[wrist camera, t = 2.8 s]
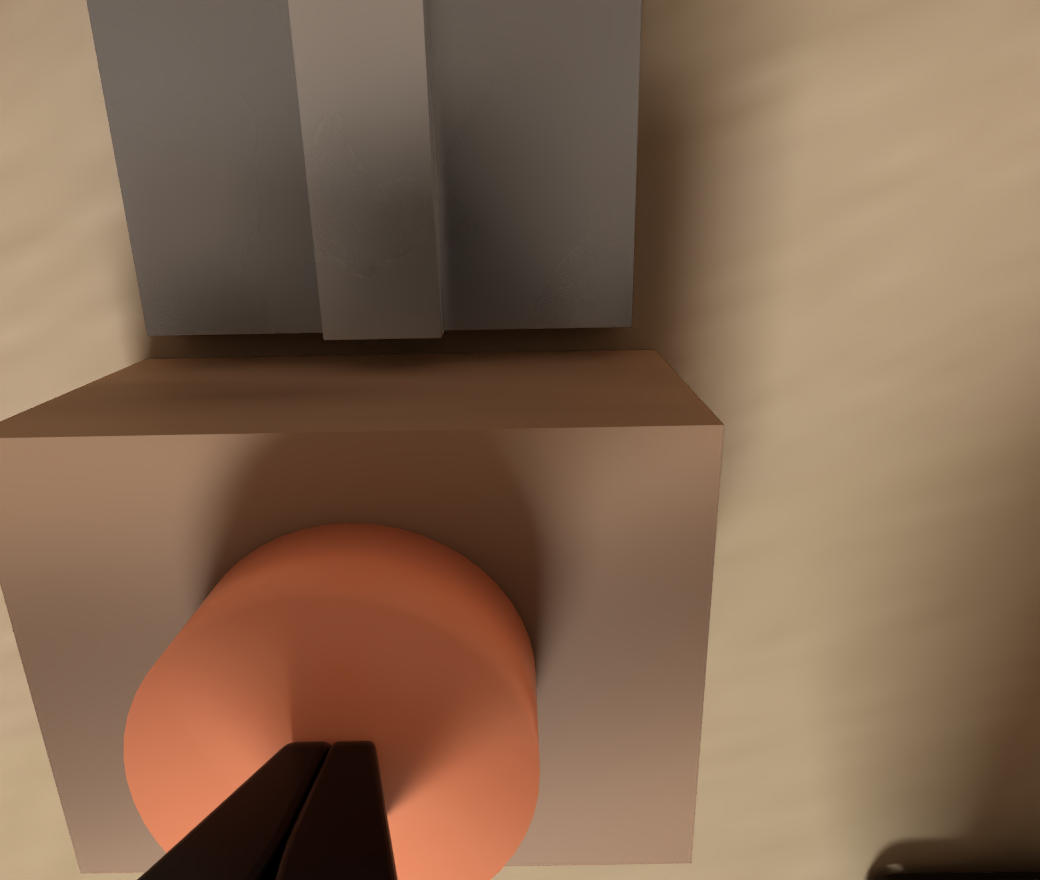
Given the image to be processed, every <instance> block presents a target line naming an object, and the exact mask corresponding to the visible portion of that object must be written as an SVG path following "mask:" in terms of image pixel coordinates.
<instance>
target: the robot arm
mask: <svg viewBox="0 0 1040 880" xmlns="http://www.w3.org/2000/svg"><path fill="white" fill-rule="evenodd" d="M137 880H398V877H397V871H396V865H395V859H394V853H393V847H392V841H391V835H390V829H389V823H388V817H387V811H386V805H385V799H384V793H383V787H382V781H381V775H380V769H379V763H378V757H377V751H376V747H375V744H374V743H373V742H371V741H338V742H336V743H334V744H333V745H332V746H331V745H330V744H328V743H327V742H324V741H321V742H292V743H289V744H287V745H285V746H284V747H282V748H281V749H280V750H279V751H278V752H277V753H276V754H275V755H273V756H272V757H271V758H270V759H269V760H268V761H267V762H266V763H265V764H264V765H262V766H261V767H260V768H259V769H258V770H257V771H256V772H255V773H254V774H253V775H252V776H250V777H249V778H248V779H247V780H246V781H245V782H244V783H243V784H242V785H241V786H239V787H238V788H237V789H236V790H235V791H234V792H233V793H232V794H231V795H230V796H228V797H227V798H226V799H225V800H224V801H223V802H222V803H221V804H220V805H219V806H218V807H216V808H215V809H214V810H213V811H212V812H211V813H210V814H209V815H208V816H207V817H205V818H204V819H203V820H202V821H201V822H200V823H199V824H198V825H197V826H196V827H194V828H193V829H192V830H191V831H190V832H189V833H188V834H187V835H186V836H185V837H184V838H182V839H181V840H180V841H179V842H178V843H177V844H176V845H175V846H174V847H173V848H171V849H170V850H169V851H168V852H167V853H166V854H165V855H164V856H163V857H162V858H161V859H159V860H158V861H157V862H156V863H155V864H154V865H153V866H152V867H151V868H150V869H148V870H147V871H146V872H145V873H144V874H143V875H142V876H141V877H140V878H139V879H137ZM878 880H1040V872H994V873H934V874H893V875H887V876H884V877H882V878H880V879H878Z"/></svg>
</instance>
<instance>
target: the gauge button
mask: <svg viewBox="0 0 1040 880" xmlns="http://www.w3.org/2000/svg"><path fill="white" fill-rule="evenodd" d="M321 741H324V742H327V743H328V744H330V745H331V746H332V745H333V744H334V743H336V742H338V741H371V742H373V743H374V744H375V747H376V751H377V757H378V763H379V769H380V775H381V781H382V787H383V793H384V799H385V805H386V811H387V817H388V823H389V829H390V835H391V841H392V847H393V853H394V859H395V865H396V871H397V877H398V880H490V879H492V878H493V877H494V876H495V875H496V874H497V873H498V872H499V871H500V870H501V869H502V868H503V867H504V866H505V864H506V863H507V862H508V861H509V859H510V858H511V857H512V856H513V855H514V853H515V852H516V850H517V848H518V847H519V845H520V844H521V842H522V840H523V839H524V837H525V835H526V833H527V830H528V828H529V826H530V823H531V821H532V818H533V816H534V812H535V808H536V803H537V799H538V794H539V780H540V763H539V738H538V713H537V687H536V670H535V659H534V654H533V650H532V646H531V642H530V638H529V636H528V633H527V631H526V628H525V626H524V624H523V621H522V619H521V617H520V616H519V614H518V612H517V611H516V609H515V607H514V606H513V604H512V602H511V601H510V599H509V598H508V597H507V596H506V594H505V593H504V592H503V591H502V589H501V588H500V587H499V586H498V584H496V583H495V582H494V581H493V580H492V579H491V578H490V577H489V576H488V575H487V574H486V573H485V572H484V571H483V570H482V569H481V568H479V567H478V566H477V565H475V564H474V563H473V562H471V561H470V560H469V559H467V558H466V557H464V556H463V555H461V554H460V553H458V552H456V551H454V550H453V549H451V548H449V547H447V546H446V545H444V544H442V543H439V542H437V541H435V540H432V539H430V538H427V537H425V536H423V535H420V534H417V533H413V532H410V531H406V530H403V529H399V528H394V527H388V526H382V525H376V524H360V523H342V524H329V525H321V526H316V527H312V528H307V529H302V530H299V531H296V532H293V533H290V534H287V535H284V536H281V537H278V538H276V539H274V540H272V541H270V542H268V543H266V544H264V545H262V546H260V547H258V548H257V549H255V550H254V551H253V552H251V553H250V554H248V555H247V556H245V557H244V558H242V559H241V560H240V561H239V562H238V563H236V564H235V565H234V566H233V567H232V568H231V569H230V570H229V571H228V572H227V573H226V574H225V575H224V576H223V577H222V579H221V580H220V581H219V582H218V583H217V585H216V586H215V587H214V588H213V590H212V591H211V592H210V594H209V595H208V596H207V597H206V599H205V600H204V601H203V602H202V604H201V605H200V606H199V608H198V609H197V610H196V611H195V613H194V614H193V615H192V617H191V618H190V619H189V620H188V622H187V623H186V624H185V626H184V627H183V628H182V629H181V631H180V632H179V633H178V634H177V636H176V637H175V638H174V640H173V641H172V642H171V643H170V645H169V646H168V647H167V649H166V650H165V651H164V652H163V654H162V655H161V656H160V657H159V659H158V660H157V661H156V663H155V664H154V665H153V666H152V668H151V669H150V670H149V672H148V673H147V674H146V676H145V678H144V680H143V681H142V683H141V685H140V687H139V688H138V690H137V692H136V694H135V696H134V699H133V702H132V705H131V707H130V710H129V713H128V716H127V721H126V727H125V733H124V765H125V772H126V778H127V783H128V786H129V789H130V792H131V795H132V798H133V801H134V804H135V806H136V808H137V810H138V812H139V814H140V816H141V818H142V820H143V822H144V824H145V825H146V827H147V828H148V830H149V831H150V833H151V834H152V836H153V837H154V839H155V840H156V842H157V843H158V844H159V845H160V846H161V847H162V848H163V850H164V851H165V852H166V853H167V852H168V851H169V850H170V849H171V848H173V847H174V846H175V845H176V844H177V843H178V842H179V841H180V840H181V839H182V838H184V837H185V836H186V835H187V834H188V833H189V832H190V831H191V830H192V829H193V828H194V827H196V826H197V825H198V824H199V823H200V822H201V821H202V820H203V819H204V818H205V817H207V816H208V815H209V814H210V813H211V812H212V811H213V810H214V809H215V808H216V807H218V806H219V805H220V804H221V803H222V802H223V801H224V800H225V799H226V798H227V797H228V796H230V795H231V794H232V793H233V792H234V791H235V790H236V789H237V788H238V787H239V786H241V785H242V784H243V783H244V782H245V781H246V780H247V779H248V778H249V777H250V776H252V775H253V774H254V773H255V772H256V771H257V770H258V769H259V768H260V767H261V766H262V765H264V764H265V763H266V762H267V761H268V760H269V759H270V758H271V757H272V756H273V755H275V754H276V753H277V752H278V751H279V750H280V749H281V748H282V747H284V746H285V745H287V744H289V743H292V742H321Z"/></svg>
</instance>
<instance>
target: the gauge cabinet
mask: <svg viewBox="0 0 1040 880" xmlns="http://www.w3.org/2000/svg"><path fill="white" fill-rule="evenodd" d="M723 433H724V424H723V423H722V422H721V421H720V420H719V419H718V418H717V417H716V416H715V415H714V413H713V412H712V411H711V410H710V409H709V408H708V407H707V406H706V405H705V404H704V403H703V401H702V400H701V399H700V398H699V397H698V396H697V395H696V394H695V393H694V392H693V391H692V389H691V388H690V387H689V386H688V385H687V384H686V383H685V382H684V381H683V380H682V379H681V377H680V376H679V375H678V374H677V373H676V372H675V371H674V370H673V369H672V368H671V367H670V365H669V364H668V363H667V362H666V361H665V360H664V359H663V358H662V357H661V356H660V355H659V354H658V352H657V351H656V350H602V351H548V352H494V353H440V354H386V355H332V356H277V357H223V358H169V359H145V360H143V361H140V362H138V363H136V364H133V365H131V366H129V367H126V368H124V369H122V370H119V371H117V372H115V373H112V374H110V375H108V376H105V377H103V378H101V379H98V380H96V381H94V382H91V383H89V384H87V385H84V386H82V387H80V388H77V389H75V390H73V391H70V392H68V393H66V394H63V395H61V396H59V397H56V398H54V399H52V400H49V401H47V402H45V403H42V404H40V405H38V406H35V407H33V408H31V409H28V410H26V411H24V412H22V413H19V414H17V415H15V416H12V417H10V418H8V419H5V420H3V421H1V422H0V584H1V588H2V592H3V595H4V599H5V603H6V606H7V610H8V613H9V617H10V621H11V624H12V628H13V631H14V635H15V639H16V642H17V646H18V649H19V653H20V657H21V660H22V664H23V667H24V671H25V675H26V678H27V682H28V685H29V689H30V693H31V696H32V700H33V703H34V707H35V711H36V714H37V718H38V722H39V725H40V729H41V732H42V736H43V740H44V743H45V747H46V750H47V754H48V758H49V761H50V765H51V768H52V772H53V776H54V779H55V783H56V786H57V790H58V794H59V797H60V801H61V804H62V808H63V812H64V815H65V819H66V822H67V826H68V830H69V833H70V837H71V840H72V844H73V848H74V851H75V855H76V859H77V862H78V866H79V869H80V873H133V872H146V871H147V870H148V869H150V868H151V867H152V866H153V865H154V864H155V863H156V862H157V861H158V860H159V859H161V858H162V857H163V856H164V855H165V854H166V852H165V851H164V850H163V848H162V847H161V846H160V845H159V844H158V843H157V842H156V840H155V839H154V837H153V836H152V834H151V833H150V831H149V830H148V828H147V827H146V825H145V824H144V822H143V820H142V818H141V816H140V814H139V812H138V810H137V808H136V806H135V804H134V801H133V798H132V795H131V792H130V789H129V786H128V783H127V778H126V772H125V765H124V733H125V727H126V721H127V716H128V713H129V710H130V707H131V705H132V702H133V699H134V696H135V694H136V692H137V690H138V688H139V687H140V685H141V683H142V681H143V680H144V678H145V676H146V674H147V673H148V672H149V670H150V669H151V668H152V666H153V665H154V664H155V663H156V661H157V660H158V659H159V657H160V656H161V655H162V654H163V652H164V651H165V650H166V649H167V647H168V646H169V645H170V643H171V642H172V641H173V640H174V638H175V637H176V636H177V634H178V633H179V632H180V631H181V629H182V628H183V627H184V626H185V624H186V623H187V622H188V620H189V619H190V618H191V617H192V615H193V614H194V613H195V611H196V610H197V609H198V608H199V606H200V605H201V604H202V602H203V601H204V600H205V599H206V597H207V596H208V595H209V594H210V592H211V591H212V590H213V588H214V587H215V586H216V585H217V583H218V582H219V581H220V580H221V579H222V577H223V576H224V575H225V574H226V573H227V572H228V571H229V570H230V569H231V568H232V567H233V566H234V565H235V564H236V563H238V562H239V561H240V560H241V559H242V558H244V557H245V556H247V555H248V554H250V553H251V552H253V551H254V550H255V549H257V548H258V547H260V546H262V545H264V544H266V543H268V542H270V541H272V540H274V539H276V538H278V537H281V536H284V535H287V534H290V533H293V532H296V531H299V530H302V529H307V528H312V527H316V526H321V525H329V524H342V523H360V524H376V525H382V526H388V527H394V528H399V529H403V530H406V531H410V532H413V533H417V534H420V535H423V536H425V537H427V538H430V539H432V540H435V541H437V542H439V543H442V544H444V545H446V546H447V547H449V548H451V549H453V550H454V551H456V552H458V553H460V554H461V555H463V556H464V557H466V558H467V559H469V560H470V561H471V562H473V563H474V564H475V565H477V566H478V567H479V568H481V569H482V570H483V571H484V572H485V573H486V574H487V575H488V576H489V577H490V578H491V579H492V580H493V581H494V582H495V583H496V584H498V586H499V587H500V588H501V589H502V591H503V592H504V593H505V594H506V596H507V597H508V598H509V599H510V601H511V602H512V604H513V606H514V607H515V609H516V611H517V612H518V614H519V616H520V617H521V619H522V621H523V624H524V626H525V628H526V631H527V633H528V636H529V638H530V642H531V646H532V650H533V654H534V659H535V670H536V687H537V713H538V738H539V763H540V780H539V794H538V799H537V803H536V808H535V812H534V816H533V818H532V821H531V823H530V826H529V828H528V830H527V833H526V835H525V837H524V839H523V840H522V842H521V844H520V845H519V847H518V848H517V850H516V852H515V853H514V855H513V856H512V857H511V858H510V859H509V861H508V862H507V863H506V864H505V866H550V865H610V864H669V863H691V861H692V847H693V834H694V821H695V807H696V794H697V780H698V767H699V754H700V740H701V727H702V713H703V700H704V687H705V673H706V660H707V647H708V633H709V620H710V606H711V593H712V580H713V566H714V553H715V540H716V526H717V513H718V499H719V486H720V473H721V459H722V446H723Z"/></svg>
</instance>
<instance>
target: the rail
mask: <svg viewBox="0 0 1040 880" xmlns="http://www.w3.org/2000/svg"><path fill="white" fill-rule="evenodd" d="M87 6H88V11H89V17H90V22H91V28H92V33H93V39H94V44H95V50H96V55H97V61H98V66H99V72H100V77H101V83H102V88H103V94H104V99H105V105H106V110H107V116H108V121H109V127H110V132H111V137H112V143H113V148H114V154H115V159H116V165H117V170H118V176H119V181H120V187H121V192H122V198H123V203H124V209H125V214H126V220H127V225H128V231H129V236H130V242H131V247H132V253H133V258H134V264H135V269H136V275H137V280H138V286H139V291H140V297H141V302H142V308H143V313H144V319H145V324H146V330H147V335H148V336H166V335H220V334H274V333H323V339H324V340H353V339H407V338H441V336H442V334H443V333H444V331H445V330H490V329H544V328H598V327H632V300H633V267H634V235H635V203H636V171H637V138H638V106H639V74H640V42H641V9H642V0H87Z"/></svg>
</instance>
